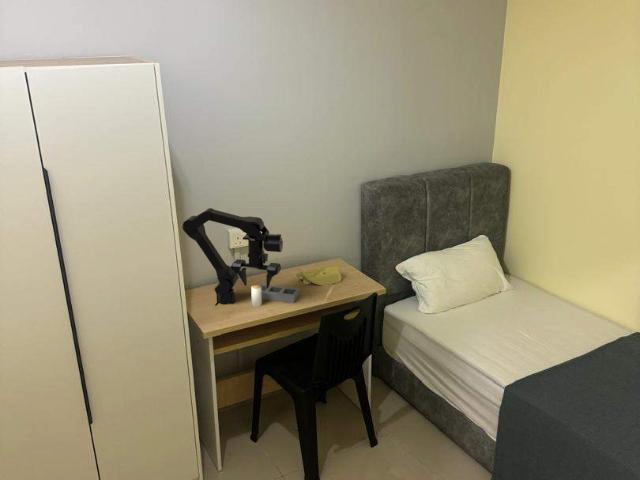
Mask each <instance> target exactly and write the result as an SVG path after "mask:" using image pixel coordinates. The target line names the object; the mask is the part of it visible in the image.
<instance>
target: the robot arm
mask: <svg viewBox="0 0 640 480" xmlns="http://www.w3.org/2000/svg"><path fill="white" fill-rule="evenodd" d="M208 221H209V222H213V223H217V224H221V225H225V226H229V227H233V228H236V229H239V230H241V232H243V233H245V235H244V236H243V237H242V240H244V241H245V240H246V241H247V243H248V245H247V246H248V247H247V248H248V250H247V251H248V253H247V258H248V262H246V261H247V260H246V259H239V258H237V259H235V261H234V262H232V263H231V265H228V264H227V263H226V262H225V261H224V259H223V258H222V256H221V254H220V252H219V251H218V250H217V248H216V247H215V245H214V244H213V243H212V241H211V240H210V238H209V236H208V235H207V233H206V228H205V225H204V224H206V223H208ZM181 229H182V231H183V232H184V233H185V234H186V235H187V236H188V237H189V238H190V239H191V240H193V241H195V242H196V244H198V246H199V248H200V250H201V251H202V252H203V254H204V256H205V257H206V259H207V260H208V261H209V263H210V264H211V266H212V268H213V269H214V270H215V273H216V276H217V277H216V278H217V280H218V284H217V285H216V286H215V287H214V291H215V295H216V303H215V304H214V306H215V307H217V306H218V305H233V304H235V302H236V293H235V290H234V287H235V285H236V284H237V282H238V281H239V278H240V280H241V281H242V284H243V285H244V286H245V287H247V285H248V282H247V269H250V270H251V269H252V270H260V271H261V270H262V271H266V273H267V274H266V277H265V278H266V279H265V280H266V282H265V283H266V286H267V289H268V288H269V285H271V282H272V279H273V278H274V277H275V276H278V274H279V273H280V271H281V270H282V265H281V263H278V262H277V263H275V262H270V263H269V265H266V262H268V259H269V253H265V251H266V252H275V253H281V252H283V248H284V247H283V246H284V241H283V237H282V234H280V233H279V234H278V233H277V234H272V233H270V230H268V228H267V227H266V225H265V222H264V221H263V219H262V218H261V217H259V216H239V215H235V214H231V213H229V212H224V211H220V210H217V209H214V208H213V207H212V208H211V207H209V208H207V209H206V210H205V211H202V212H200V213H199V214H198V215H191V216H189V217H187V219H186V220H185V221H183V223H182V227H181Z"/></svg>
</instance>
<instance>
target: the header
mask: <svg viewBox="0 0 640 480" xmlns="http://www.w3.org/2000/svg"><path fill="white" fill-rule="evenodd" d="M256 285H260V286H261V296H262V300H266V301H273V302H274V301H275V302H280V303H281V302H282V303H292V304H294V303H295V302H296V300H297V299H298V298H299V296H300V288H299V287H293V286H282V285H275V284H274V285H273V284H270V285H269V288H268V289H267V286H266V284H264V283H257V284H256Z"/></svg>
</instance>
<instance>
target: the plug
mask: <svg viewBox="0 0 640 480" xmlns="http://www.w3.org/2000/svg"><path fill="white" fill-rule="evenodd" d="M250 289H251V290H250V291H251V293H250V295H251V298H250V299H251V306H253V307H261V306H262V305H263V304H262V301H263V299H262V296H261V286H260V285H257V284H254V285H251V286H250Z"/></svg>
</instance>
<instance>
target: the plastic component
mask: <svg viewBox="0 0 640 480" xmlns="http://www.w3.org/2000/svg"><path fill="white" fill-rule="evenodd" d="M340 270H341V269H340V268H339V266H338V265H336V266H330V267H326V268H320V269H313V270H310V271H309V270H308V271H301V272H297V273H295V277H297V278H302V281H303V282H302V283H303V284H304V285H311V284H314V285H317V286H324V285H327V284H329V283H332V284H338V283H341V281H342V274H341V271H340Z"/></svg>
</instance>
